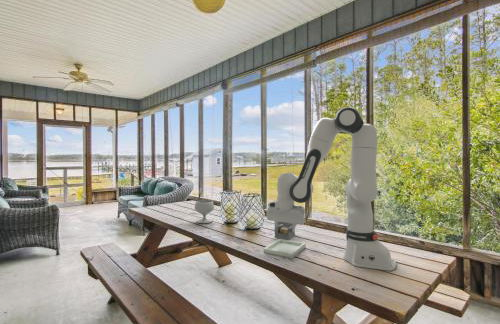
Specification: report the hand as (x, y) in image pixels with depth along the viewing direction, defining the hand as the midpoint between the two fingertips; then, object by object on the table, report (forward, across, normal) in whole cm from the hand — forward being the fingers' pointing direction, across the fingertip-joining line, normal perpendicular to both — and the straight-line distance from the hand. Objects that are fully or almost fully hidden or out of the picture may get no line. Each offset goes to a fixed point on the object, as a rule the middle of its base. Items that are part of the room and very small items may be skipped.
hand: (285, 230), depth 142 cm
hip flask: (+10, +11, -24) cm, 28 cm away
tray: (+10, 0, 0) cm, 10 cm away
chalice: (+11, +75, -25) cm, 80 cm away
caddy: (+4, 0, 0) cm, 4 cm away
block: (+3, 0, 0) cm, 3 cm away
